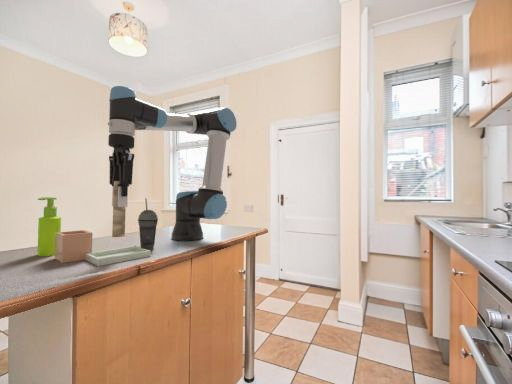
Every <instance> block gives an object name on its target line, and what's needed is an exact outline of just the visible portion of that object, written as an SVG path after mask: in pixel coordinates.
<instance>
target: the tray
mask: <svg viewBox="0 0 512 384" xmlns="http://www.w3.org/2000/svg"><path fill="white" fill-rule="evenodd" d="M151 252H152V250H147V249H144V248H141V246H136V245H135V246H134V245H133V246H125V247H118V248H112V249H111V248H110V249H107V250H106V249H104V250H98V251H92V253H86V254H85V260H86V261H87V262H89V263H90V264H91V263H92V264H93V265H95V266H97V267H98V266H99V267H100V266H105V265H110V264H116V263H120V262H121V263H122V262H126V261H132V260H137V259H143V258H147V257H151V254H152V253H151ZM85 260H84V261H85Z"/></svg>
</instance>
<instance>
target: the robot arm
mask: <svg viewBox="0 0 512 384" xmlns="http://www.w3.org/2000/svg"><path fill="white" fill-rule="evenodd" d="M136 93H137V92H136V91H135V90H133V88H131V87H128V86H124V85H116V86H115V85H114V86H112V88H111V89H110V93H109V117H108V118H109V122H107V125H108V133H109V135H108V140H107V141H108V147H111V148H113V152H112V155H109V156H108V161H109V185H111V186H112V196H111V197H112V198H111V199H112V200H111V201H112V202H111V207H113V196H114V181H120V184H118V185H117V186H121V187H118V207H126V208H127V207H128V200H129V199H128V197H129V196H128V195H129V187H130V186H131V185H132V184H133V167H134V159H135V154H134V153H131V150H133V149H134V148H135V137H134V136H136V135H135V134H136V131H161V132H162V131H163V132H166V131H169V132H171V131H172V132H185V133H187V134H192V135H193V134H194V135H202V136H203V135H205V136H207V137H208V142H207V148H206V157H205V163H204V169H203V178H202V185H201V186H200V187H198V190H186V191H179V192H178V193H177V194H176V196H175V197H176V198H175V223H174V227H173V229H172V232H171V239H172V240H174V241H182V242H183V241H197V240H198V241H199V240H201V239H203V238H204V232H203V229H202V225H201V221H200V220H201V219H204V220H205V219H206V220H218V219H220V218H221V217H222V216H223V215H224V214H225V213H226V209H227V208H228V207H227V206H228V201H227V198H226V196H225V195H224V190H222V188H221V185H222V177H223V171H224V164H225V155H226V147H227V141H228V140H230V138H231V134H232V132H234V131H236V129H237V118H236V116H235V114H234V112H233V110H231V109H230V108H229V107H218V108H215V109H210V110H205V111H201V112H197V113H186V114H178V113H176V114H175V113H167V111H166V110H165V109H164V108H161V107H160V106H157V105H154V104H152V103H149V102H145V101H143V100H140V99H139V98H137V94H136Z"/></svg>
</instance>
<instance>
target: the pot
mask: <svg viewBox="0 0 512 384" xmlns="http://www.w3.org/2000/svg"><path fill="white" fill-rule="evenodd" d="M92 252H93V232H91V231H88V230H84V229H81V230H79V229H78V230H69V231H61V232H56V233H55V255H54V259H55V260H56V261H58V262H60V263H61V264H65V263H71V262H77V261H83V260H84V261H85V254H86V253H92Z"/></svg>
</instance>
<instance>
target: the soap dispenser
mask: <svg viewBox="0 0 512 384" xmlns="http://www.w3.org/2000/svg"><path fill="white" fill-rule="evenodd" d="M37 200H38V201H45V200H46V201H47V202H46V206H44V207H43V216H41V217H39V218H38V226H37V228H38V231H37V257H50V256H55V233H56V232H62V231H61V230H62V229H61V228H62V217H61V216H57V207H56V206H55V204H54V203H55V200H57V197H53V196H52V197H51V196H50V197H49V196H47V197H46V196H44V197H39V198H37Z"/></svg>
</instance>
